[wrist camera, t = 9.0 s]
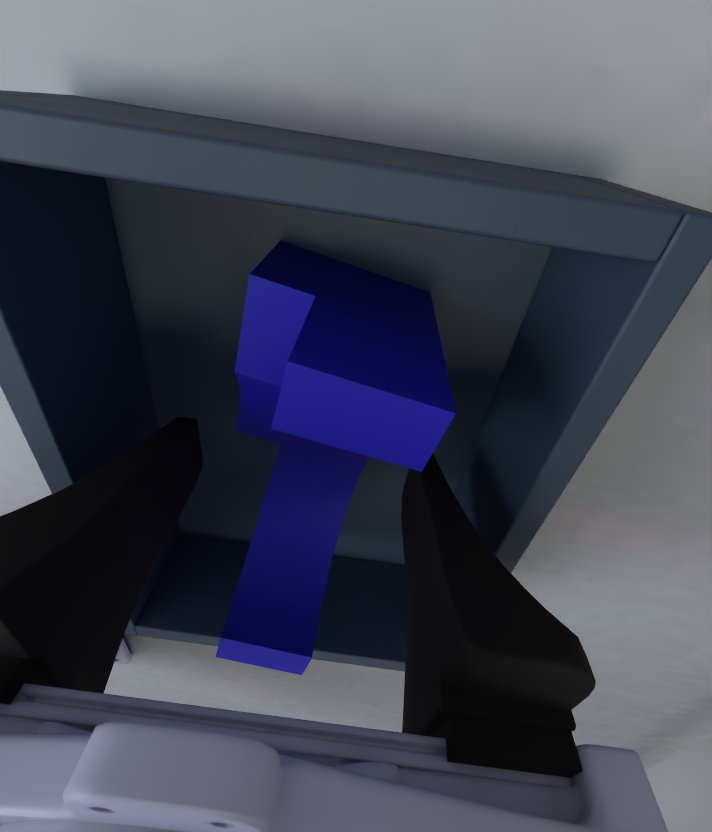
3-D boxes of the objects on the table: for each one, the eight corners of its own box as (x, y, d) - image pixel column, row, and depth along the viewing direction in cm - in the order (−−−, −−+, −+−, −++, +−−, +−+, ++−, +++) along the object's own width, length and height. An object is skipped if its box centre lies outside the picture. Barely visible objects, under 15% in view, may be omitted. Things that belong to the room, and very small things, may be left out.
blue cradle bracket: (280, 240, 11) (195, 333, 6) (430, 292, 12) (456, 413, 7) (229, 507, 18) (171, 647, 13) (325, 532, 19) (301, 675, 14)
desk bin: (172, 531, 21) (118, 633, 17) (70, 95, 10) (-148, 80, 6) (434, 567, 21) (445, 677, 17) (602, 179, 10) (738, 219, 6)
